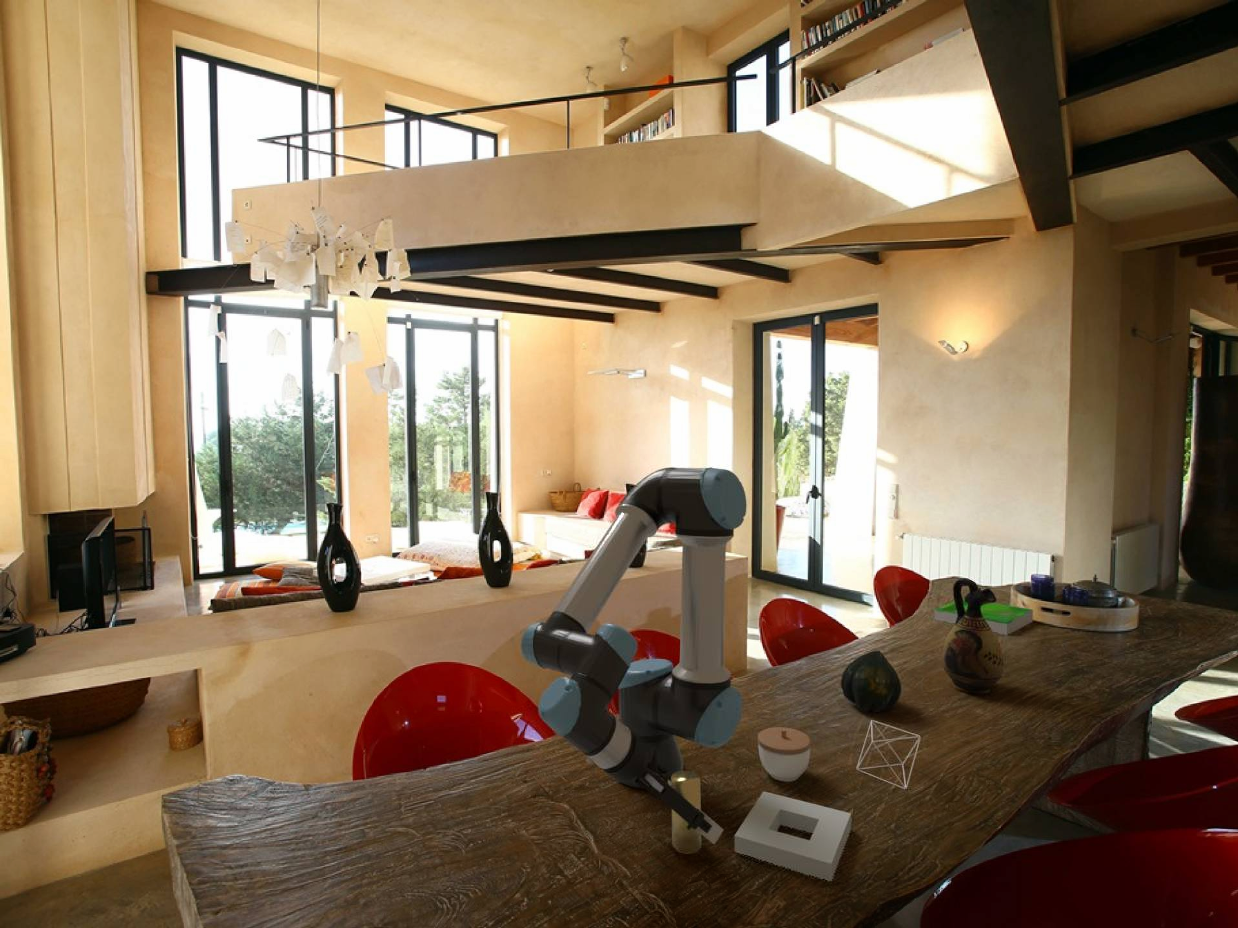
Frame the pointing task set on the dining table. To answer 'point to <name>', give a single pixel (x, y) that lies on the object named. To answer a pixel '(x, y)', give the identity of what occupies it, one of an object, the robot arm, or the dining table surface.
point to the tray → (991, 616)
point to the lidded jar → (784, 752)
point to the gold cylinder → (681, 835)
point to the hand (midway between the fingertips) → (696, 815)
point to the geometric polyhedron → (893, 751)
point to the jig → (792, 851)
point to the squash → (871, 682)
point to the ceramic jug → (972, 643)
